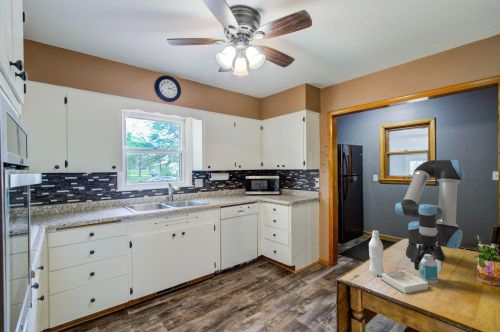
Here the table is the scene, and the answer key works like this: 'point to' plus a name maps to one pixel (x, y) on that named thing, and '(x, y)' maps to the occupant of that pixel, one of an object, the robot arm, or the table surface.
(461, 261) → the table surface
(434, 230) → the robot arm
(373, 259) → the water bottle
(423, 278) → the pill bottle
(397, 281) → the tray
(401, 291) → the mat
